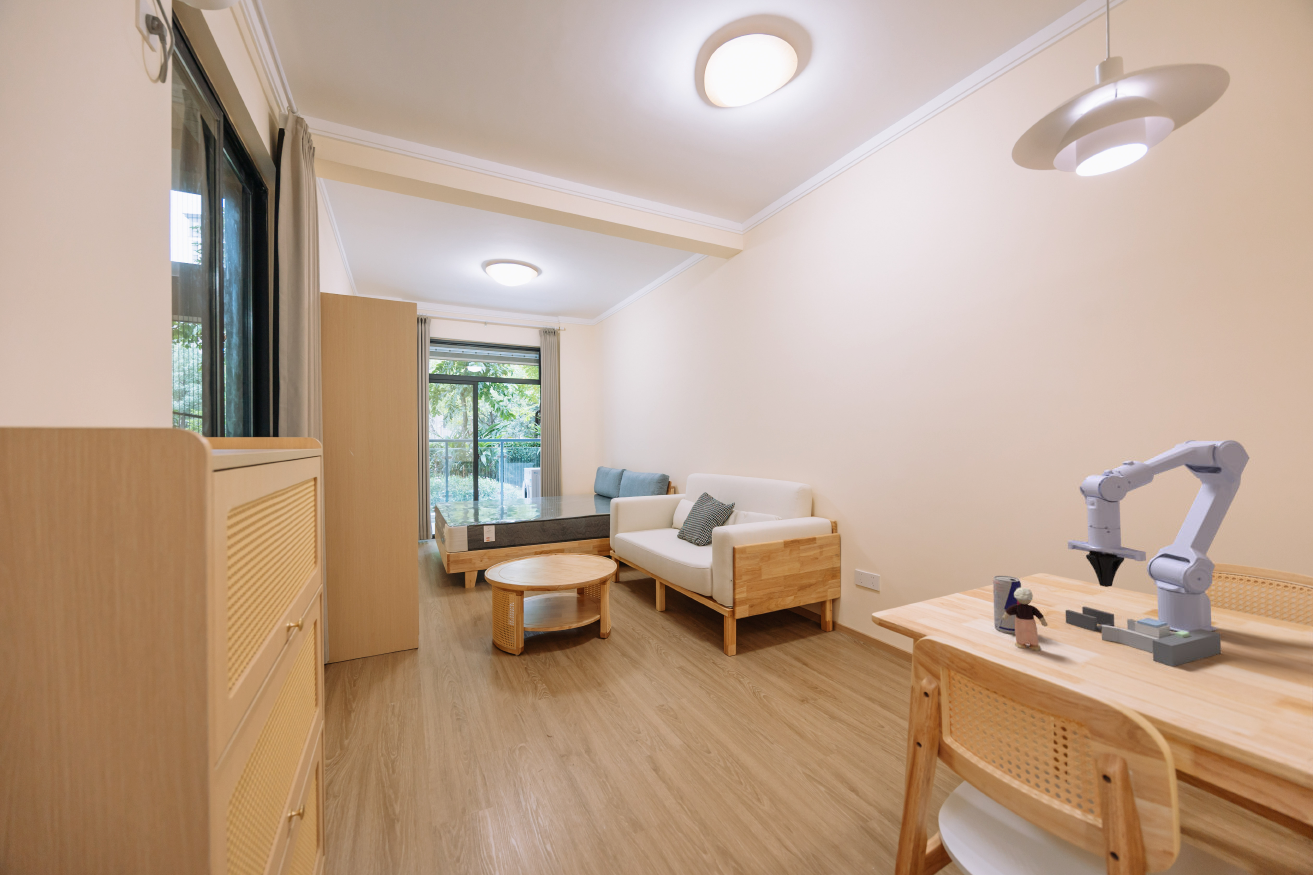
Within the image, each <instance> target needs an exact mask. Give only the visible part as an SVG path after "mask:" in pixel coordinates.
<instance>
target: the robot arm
mask: <svg viewBox="0 0 1313 875" xmlns="http://www.w3.org/2000/svg"><path fill="white" fill-rule="evenodd" d="M1249 460H1250V456H1249V454H1248V453H1247V451H1246V449H1245V447H1244V446H1243V445H1242V444H1241V443H1240V442H1239V441H1236V440H1234V439H1233V440H1232V439H1231V440H1230V439H1227V440H1193V439H1192V440H1190V439H1189V440H1186V441H1183V443H1182V442H1181V443H1178V444H1175V445H1174V447H1172V448H1170V449H1168V450H1166V451H1164V452H1162V453H1160V454H1158V455H1156V456H1154V457H1152V458H1149V459H1148V460H1146V461H1143V462H1141V461H1139V460H1126V461H1123V462H1122V465H1120V466H1118V467H1116V468H1113V469H1105V470H1104V471H1103V473H1102V474H1100V475H1099V474H1091V475H1089V476H1087V477H1086V478H1084V480H1083V481H1082V482H1081V485H1080V486H1078V488H1079V492H1080V494H1081V495H1082V496H1083V497H1084V502H1085V504H1086V510H1087V511H1086V514H1087V517H1086V518H1087V538H1088V541H1082V540H1081V541H1080V540H1075V539H1073V540H1072V539H1071V540H1067V549H1068V550H1077V551H1084V552H1089V553H1087V554H1086V555H1085V557H1086V558H1085V559H1087V561H1088V562H1089V564H1090V565H1091V567H1092V568H1093V570H1094V572H1095V574H1096V578H1097V580H1098V584H1099V586H1100V587H1106V588H1108V587H1112V586H1113V582H1114V579H1115V576H1116V574H1117V571H1118V570H1119V568H1120V566H1121V565H1122V564H1123V563H1124V561H1125V559H1129V560H1134V561H1135V562H1136V561H1137V562H1144V561H1146V560H1147V554H1146V553H1147V552H1146V551H1143V550H1137V549H1134V548H1130V547H1124V546H1122V534H1121V533H1122V532H1121V505H1120V504H1121V503H1120V502H1121V501H1122V500H1123V499H1124V498H1125V497H1126V495H1127V493H1129V492H1131V491H1133V490H1137V489H1138V488H1142V487H1143V486H1147V485H1148V484H1150V483H1152V482H1153V480H1154V477H1155V476H1156V475H1159V474H1162V473H1165V472H1167V471H1170V470H1171V471H1172V470H1173V469H1176V468H1179V467H1182V466H1184V467H1185V468H1186V469H1187V470H1188V471H1189V472H1190V473H1191V474H1192V475H1193V476H1194V477H1195V478H1197V479H1199V481H1200V482H1201V485H1200V486H1201V487H1200V489H1199V491H1198V493H1197V495H1196V496H1195V499H1194V500H1193V503H1192V505H1191V507H1190V509H1189V510H1188V512H1187V515H1186V516H1185V518H1184V521H1183V522H1182V525H1181V527H1180V529H1179V531H1178V533H1177V535H1176V537H1175V539H1174V541H1173V543H1172V544H1169V545H1167V546H1164V547H1162V548H1160V549H1159V550H1158V552H1157V553H1156V555H1155V556H1153V557H1152V558H1151V559H1150V560H1148V563H1147V565H1146V573H1147V574H1148V577H1149V578H1151V579H1152V580H1153V581H1154V583H1153V584H1154V585H1155V586H1156V592H1157V594H1156V595H1157V616H1158V617H1157V620H1159V621H1163V622H1167V625H1169V626H1170V631H1172V632H1179V631H1185V632H1189V631H1193V630H1197V629H1204V630H1208V631H1212V632H1215V631H1217V630H1218V627H1216V626H1213V625H1212V607H1211V606H1212V604H1211V600H1210V597H1209V596H1208V594H1207V593H1206V591H1207V590H1209V589H1210V587H1211V586H1212V583H1213V572H1214V571H1215V567H1216V565H1215V563H1213V561H1212V560H1211V559H1210V558H1209V557H1208V556H1207V553H1208V551H1209V549H1210V547H1211V545H1212V544H1213V541H1214V539H1215V537H1216V535H1217V533H1218V531H1219V529H1220V526H1221V525H1222V522H1223V521H1224V519H1225V516H1226V515H1227V512H1228V510H1229V509H1230V507H1231V505H1232V502H1233V501H1234V498H1235V497H1236V495H1237V493H1238V490H1239V489H1240V486H1241V481H1242V474H1243V473H1244V470H1245V468H1246V466H1247V464H1248V462H1249Z"/></svg>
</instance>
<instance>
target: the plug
mask: <svg viewBox="0 0 1313 875" xmlns="http://www.w3.org/2000/svg"><path fill="white" fill-rule="evenodd" d="M1136 621H1137V622H1135V632H1138V633H1142V634H1145V635H1149V636H1152V637H1156V638H1159V639H1160V638H1164V637H1168V636H1170V631H1171V630H1170V626H1169V625H1167V622H1163V621H1159V620H1158V619H1154V618H1151V617H1145V618H1142V619H1139V620H1136Z"/></svg>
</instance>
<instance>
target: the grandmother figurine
mask: <svg viewBox="0 0 1313 875" xmlns="http://www.w3.org/2000/svg"><path fill="white" fill-rule="evenodd" d="M1014 597H1015V598H1016V599H1017V601H1018V602H1019V603H1021V604H1015V605H1011V606H1010V607H1008V608H1007V609H1006V610H1005V613H1004V616H1003V617H1002V618H1003V619H1004V620H1008V617H1010V616H1011V615H1016V618H1015V634H1014V635H1015V641H1016V642H1015V644H1014V646H1016V647H1017V648H1019V649H1021V650H1022V649H1023V650H1026V649H1027V648H1029V649H1030V650H1032V651H1037V652H1038V651H1039V650H1041V649H1042V648H1041V646H1040V644H1039V636H1038V629H1037V623H1036V619H1038V620H1039V622H1041V626H1043V627H1047V626H1049V625H1048V622H1047V621H1046V618H1045V617H1044V615H1043V613H1042V612H1041V611H1040V609H1038V608H1037V607H1036V606H1034V605H1031V602H1032V601H1033V597H1034V596H1033V592H1032V590H1031V589H1030V588H1027V587H1023V586H1021V588H1018V589H1017V590H1016V591H1015V592H1014ZM1034 617H1036V619H1035V618H1034ZM1027 645H1028V646H1029V647H1027Z"/></svg>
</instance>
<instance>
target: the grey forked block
mask: <svg viewBox="0 0 1313 875" xmlns="http://www.w3.org/2000/svg"><path fill="white" fill-rule="evenodd" d="M1126 620H1127V621H1126V622H1127V624H1126V625H1127V627H1126V628H1127V629H1126V628H1125V627H1118V626H1114V627H1113V626H1107V625H1102V631H1101V640H1102V641H1107V642H1108V641H1109V642H1113V643H1119V644H1121V645H1125V646H1129V647H1131V648H1134V649H1135V648H1136V649H1139V650H1142V651H1145V652H1148V653H1151V654H1152V658H1153V660H1152V661H1154V662H1157V663H1160V664H1163V665H1166V666H1170V667H1171V668H1173V667H1177V666H1180V665H1181V666H1182V665H1184V664H1188V663H1190V662H1191V663H1192V662H1195V661H1198V660H1202V659H1205V658H1209V657H1213V656H1217V655H1220V654H1221V653H1222V648H1221V647H1222V646H1221V645H1222V644H1221V643H1222V642H1221V641H1222V639H1221V633H1220V632H1219V633H1218V632H1215V631H1208V630H1204V629H1197V630H1193V631H1189V632H1185V631H1179V632H1177V631H1172V630H1170V636H1168V637H1164V638H1160V639H1159V638H1156V637H1152V636H1149V635H1145V634H1142V633H1138V632H1135V622H1137V621H1138V620H1135V619H1132V618H1131V619H1130V618H1127V619H1126ZM1219 653H1220V654H1219ZM1216 654H1217V655H1216Z"/></svg>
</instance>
